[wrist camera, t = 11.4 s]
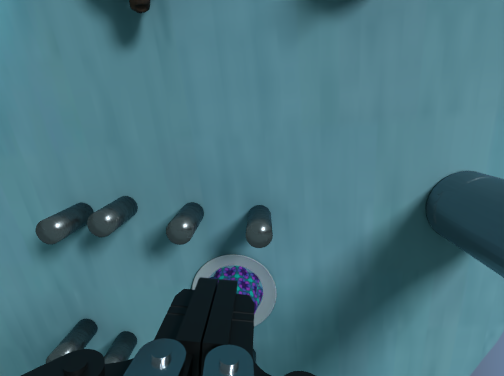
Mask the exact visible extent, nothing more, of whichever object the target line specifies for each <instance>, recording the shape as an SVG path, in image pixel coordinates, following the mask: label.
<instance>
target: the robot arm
mask: <svg viewBox="0 0 504 376" xmlns="http://www.w3.org/2000/svg"><path fill="white" fill-rule="evenodd" d="M426 214H427V218H428V221H429V223H430V225H431V226H432V228H433V229H434V230H435V231H436V232H437V233H438V234H440V235H441V236H443V237H444V238H446V239H447V240H449V241H450V242H452V243H453V244H455V245H456V246H457V247H459V248H460V249H462V250H463V251H465V252H466V253H468V254H469V255H471V256H472V257H474V258H475V259H477V260H478V261H480V262H481V263H483V264H484V265H486V266H487V267H489V268H490V269H492V270H493V271H495V272H496V273H498V274H499V275H501V276H502V277H503V278H504V179H501V178H497V177H494V176H490V175H486V174H482V173H479V172H474V171H462V172H457V173H454V174H451V175H449V176H447V177H445V178H444V179H443V180H441V181H440V182H439V183H438V184H437V185H436V186H435V187H434V188H433V190H432V192H431V193H430V195H429V198H428V201H427V206H426ZM237 282H238V281H235V280H225V279H219V282H218V279H214V278H204V277H200V278H199V280H198V282H197V285H196V287H195V290H191V289H183V290H182V291H181V292H180V293H178V294H177V295H176V296H175V297H174V299H173V302H172V304H171V307H170V308H169V310H168V312H167V314H166V316H165V318H164V320H163V322H162V324H161V327H160V329H159V331H158V333H157V335H156V337H155V339H154V340H153V341H151V342H149V343H147V344H145V345H144V346H143V347H142V348H141V349H140V350H139V351H138V353H137V354H136V356H135V357H134V358H133V359H130V360H126V361H121V362H115V363H109V364H105V359H104V357H103V355H102V354H101V353H100V352H98V351H96V350H92V349H81V350H76V351H72V352H69V353H67V354H65V355H63V356H61V357H59V358H56V359H54V360H52V361H50V362H48V363H46V364H44V365H42V366H40V367H38V368H36V369H34V370H32V371H30V372H27V373H25V374H23V375H21V376H271V375H269V374H267V373H265V372H264V371H263V370H261V369H260V368H259V367H258V366H257V364H256V363H255V361H254V358H253V332H254V307H255V303H254V302H253V300H252V298H251V297H250V295H244V294H237ZM285 376H315V375H313V374H311V373H308V372H304V371H294V372H290V373H288V374H286V375H285Z"/></svg>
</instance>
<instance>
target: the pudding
mask: <svg viewBox="0 0 504 376" xmlns="http://www.w3.org/2000/svg"><path fill="white" fill-rule="evenodd" d="M229 265H238V266H234V267H233V268H231V269H229V268H226V267H224V266H229ZM241 266H242V267H241ZM222 267H224V268H222ZM243 267H245V268H248V269H250V270H251V271H252V272H254V273H255V274H256V275H257V276H258V277H257V276H256V275H255V274H254V273H248V272H247V271H246V269H245V268H243ZM219 268H220V269H219ZM218 269H219V270H218ZM216 270H218V271H216ZM215 271H216V275H215V276H214V277H211V278H214V279H218V282H219V279H225V280H235V281H238V282H237V294H244V295H250V297H251V298H252V300H253V302H254V303H255V307H254V326H256V325H258V324H260V323H261V322H262V321H264V320H265V319H266V318H267V317H268V316H269V315H270V313H271V311H272V310H273V308H274V305H275V302H276V286H275V282H274V280H273V278H272V276H271V274H270V273H269V271H268V270H267V269H266V268H265V267H264V266H263V265H262V264H260V263H259V262H257V261H256V260H254V259H252V258H249V257H246V256H243V255H224V256H219V257H217V258H214V259H212V260H211V261H209V262H207V263H206V264H205V265H204V266H203V267H201V269H200V270H199V271H198V273H197V274H196V276H195V278H194V282H193V285H192V290H195V287H196V285H197V282H198V280H199V278H200V277H204V278H209V277H210V276H211V274H212V273H213V272H215ZM258 278H259V279H260V281H261V283H262V286H263V290H262V288H261V287H260V286H259V279H258ZM262 296H263V299H262ZM261 299H262V302H261V304H260V305H259V303H260V301H261ZM258 305H259V307H258Z"/></svg>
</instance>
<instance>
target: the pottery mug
mask: <svg viewBox="0 0 504 376" xmlns="http://www.w3.org/2000/svg"><path fill="white" fill-rule="evenodd" d="M129 2H130V7H131V9H132V10H134V11H136V12H137V13H142V12H146V11H148V10H149V8H150V0H129Z"/></svg>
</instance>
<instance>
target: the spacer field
mask: <svg viewBox="0 0 504 376" xmlns="http://www.w3.org/2000/svg"><path fill="white" fill-rule="evenodd" d="M137 209H138V207H137V203H136V202H135V200H134V199H133V198H131V197H128V196H123V197H120V198H118V199H117V200H115V201H113V202H112V203H110V204H108V205H106V206H105V207H103V208H101V209H100V210H98V211H96V212H93V209H92V208H91V207H90V206H89V205H88V204H86V203H77V204H75V205H73V206H71V207H69V208H67V209H65V210H63V211H61V212H59V213H57V214H54V215H52V216H50V217H48V218H46V219H44V220H42V221H40V222H39V223H38V224H37V226H36V234H37V236H38V238H39V239H40V240H41V241H42V242H44V243H46V244H55V243H57V242H59V241H60V240H62V239H64V238H65V237H67V236H68V235H70V234H72V233H73V232H75V231H76V230H78V229H80V228H81V227H83V226H84V225H86V224H87V225H88V228H89V230H90V232H91V233H92V234H94V235H95V236H98V237H106V236H108V235H110V234H111V233H112V232H113V231H115V230H116V229H117V228H118V227H120V226H121V225H122V224H124V223H125V222H126V221H127V220H129V219H130V218H131V217H132V216H134V215H135V214H136V212H137ZM203 216H204V211H203V208H202V207H201V206H200V205H199V204H197V203H194V202H191V203H187V204H186V205H185V206H184V207H183V208H182V209H181V210H180V211H179V213H178V214H177V215H176V216H175V217H174V218H173V220H172V221H171V222H170V223H169V224H168V226H167V228H166V234H167V237H168V238H169V240H170V241H171V242H173V243H175V244H179V245H181V244H185V243H187V242H189V241H190V239H191V238H192V236H193V234H194V232H195V231H196V229H197V227H198V226H199V224H200V222H201V220H202V219H203ZM272 236H273V235H272V223H271V213H270V211H269V209H268V208H267V207H265V206H263V205H257V206H254V207H253V208H251V210H250V211H249V215H248V222H247V229H246V239H247V241H248V243H249V244H250V245H251V246H253V247H256V248H263V247H266V246H267V245H268V244H269V243H270V242H271V240H272ZM96 332H97V325H96V323H95V322H94V321H92V320H90V319H82V320H80V321H79V322H78V324H77V325H76V326H75V327H74V328H73V329H72V330H71V331H70V333H69V334H68V335H67V336H66V337H65V338H64V339H63V340H62V342H61V343H60V344H59V345H58V346H57V347H56V348H55V350H54V351H53V352H52V353H51V354H50V355H49V356H48V358H47V359H46V363H48V362H50V361H52V360H54V359H56V358H59V357H61V356H63V355H65V354H67V353H69V352H72V351H76V350H81V349H84V348H85V347H86V345H87V344H88V343H89V341H90V340H91V339H92V338H93V336H94V335H95V334H96ZM136 344H137V338H136V336H135V335H134V334H133V333H131V332H128V331H125V332H121V333H120V334H119V335H118V337H117V338H116V340H115V341H114V343H113V344H112V346H111V347H110V349H109V350H108V352H107V354H106V355H105V357H104V359H105V364H109V363H115V362H121V361H126V360H128V359H129V357H130V355H131V353H132V351H133V349H134V348H135V346H136ZM253 358H254V361H255V363H256V352H255V350H254V349H253Z"/></svg>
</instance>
